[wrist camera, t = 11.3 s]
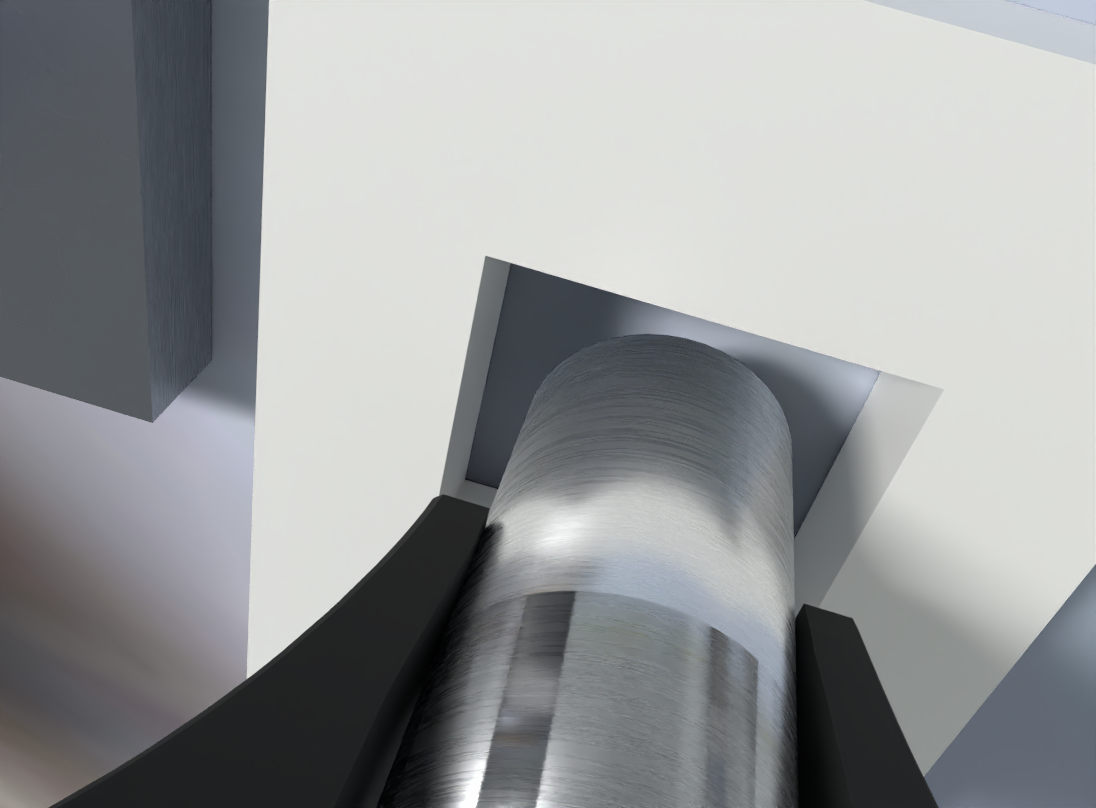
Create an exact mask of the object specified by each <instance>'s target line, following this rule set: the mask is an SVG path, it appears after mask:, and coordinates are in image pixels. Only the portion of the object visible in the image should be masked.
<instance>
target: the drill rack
mask: <svg viewBox="0 0 1096 808" xmlns="http://www.w3.org/2000/svg"><path fill="white" fill-rule="evenodd" d="M511 263H513V264H516V265H520V266H523V267H527V268H530V269H533V270H537V271H540V272H544V273H547V274H551V275H554V276H557V277H561V278H564V279H568V280H571V281H575V282H578V283H581V284H585V285H588V286H592V287H595V288H599V289H602V290H605V291H609V292H612V293H616V294H619V295H623V296H626V297H629V298H633V299H636V300H640V301H643V302H646V303H650V304H653V305H657V306H660V307H664V308H667V309H670V310H674V311H677V312H681V313H684V314H688V315H691V316H694V317H698V318H701V319H705V320H708V321H712V322H715V323H718V324H722V325H725V326H729V327H732V328H736V329H739V330H742V331H746V332H749V333H753V334H756V335H760V336H763V337H766V338H770V339H773V340H777V341H780V342H783V343H787V344H790V345H794V346H797V347H801V348H804V349H807V350H811V351H814V352H818V353H821V354H825V355H828V356H831V357H835V358H838V359H842V360H845V361H849V362H852V363H855V364H859V365H862V366H866V367H869V368H873V369H876V370H879V371H881V373H880V375H879V377H878V379H877V381H876V383H875V385H874V387H873V389H872V391H871V393H870V394H869V396H868V398H867V400H866V402H865V404H864V406H863V408H862V410H861V412H860V414H859V416H858V418H857V420H856V421H855V423H854V425H853V427H852V429H851V431H850V433H849V435H848V437H847V439H846V441H845V443H844V445H843V446H842V448H841V450H840V452H839V454H838V456H837V458H836V460H835V462H834V464H833V466H832V468H831V470H830V472H829V473H828V475H827V477H826V479H825V481H824V483H823V485H822V487H821V489H820V491H819V493H818V495H817V497H816V498H815V500H814V502H813V504H812V506H811V508H810V510H809V512H808V514H807V516H806V518H805V520H804V522H803V524H802V525H801V527H800V529H799V531H798V533H797V535H796V537H795V539H794V585H795V618H796V616H797V615H798V613H799V611H800V609H801V607H802V606H803V604H808V605H811V606H814V607H817V608H821V609H824V610H827V611H831V612H834V613H837V614H841V615H844V616H847V617H851V618H853V620H854V622H855V624H856V626H857V628H858V630H859V632H860V635H861V637H862V639H863V642H864V644H865V646H866V649H867V651H868V654H869V656H870V658H871V661H872V663H873V665H874V668H875V670H876V673H877V675H878V677H879V680H880V682H881V684H882V687H883V689H884V691H885V694H886V696H887V698H888V700H889V703H890V705H891V707H892V710H893V712H894V714H895V716H896V719H897V721H898V723H899V725H900V728H901V730H902V732H903V734H904V736H905V739H906V741H907V743H908V745H909V747H910V750H911V752H912V754H913V756H914V758H915V760H916V762H917V764H918V766H919V768H920V770H921V772H922V775H923V777H924V776H925V775H926V774H927V772H928V771H929V770H930V769H931V767H932V766H933V765H934V764H935V762H936V761H937V760H938V759H939V757H940V756H941V755H942V754H943V752H944V751H945V750H946V749H947V748H948V746H949V745H950V744H951V743H952V741H953V740H954V739H955V738H956V736H957V735H958V734H959V733H960V731H961V730H962V729H963V728H964V726H965V725H966V724H967V723H968V721H969V720H970V719H971V718H972V717H973V715H974V714H975V713H976V712H977V710H978V709H979V708H980V707H981V705H982V704H983V703H984V702H985V700H986V699H987V698H988V697H989V695H990V694H991V693H992V692H993V691H994V689H995V688H996V687H997V686H998V684H999V683H1000V682H1001V681H1002V679H1003V678H1004V677H1005V676H1006V674H1007V673H1008V672H1009V671H1010V669H1011V668H1012V667H1013V666H1014V664H1015V663H1016V662H1017V661H1018V660H1019V658H1020V657H1021V656H1022V655H1023V653H1024V652H1025V651H1026V650H1027V648H1028V647H1029V646H1030V645H1031V643H1032V642H1033V641H1034V640H1035V638H1036V637H1037V636H1038V635H1039V634H1040V632H1041V631H1042V630H1043V629H1044V627H1045V626H1046V625H1047V624H1048V622H1049V621H1050V620H1051V619H1052V617H1053V616H1054V615H1055V614H1056V612H1057V611H1058V610H1059V609H1060V607H1061V606H1062V605H1063V604H1064V603H1065V601H1066V600H1067V599H1068V598H1069V596H1070V595H1071V594H1072V593H1073V591H1074V590H1075V589H1076V588H1077V586H1078V585H1079V584H1080V583H1081V581H1082V580H1083V579H1084V578H1085V577H1086V575H1087V574H1088V573H1089V572H1090V570H1091V569H1092V568H1093V567H1094V565H1095V564H1096V25H1093V24H1089V23H1085V22H1082V21H1078V20H1074V19H1071V18H1067V17H1064V16H1060V15H1056V14H1053V13H1049V12H1045V11H1042V10H1038V9H1034V8H1031V7H1027V6H1023V5H1020V4H1016V3H1013V2H1009V1H1005V0H269V18H268V48H267V79H266V109H265V140H264V170H263V201H262V231H261V262H260V292H259V322H258V353H257V383H256V414H255V444H254V475H253V505H252V536H251V566H250V597H249V627H248V658H247V679H248V678H249V677H250V676H252V675H253V674H254V673H256V672H257V671H258V670H259V669H261V668H262V667H263V666H264V665H266V664H267V663H268V662H269V661H271V660H272V659H273V658H274V657H276V656H277V655H278V654H279V653H281V652H282V651H283V650H284V649H285V648H286V647H288V646H289V645H290V644H291V643H292V642H293V641H294V640H296V639H297V638H298V637H299V636H300V635H301V634H303V633H304V632H305V631H306V630H307V629H308V628H309V627H311V626H312V625H313V624H314V623H315V622H316V621H318V620H319V619H320V618H321V617H322V616H323V615H324V614H326V613H327V612H328V611H329V610H330V609H331V608H332V607H333V606H334V605H335V604H337V603H338V602H339V601H340V600H341V599H342V598H343V597H344V596H345V595H346V594H347V593H348V592H349V591H350V590H351V589H352V588H353V587H354V586H355V585H356V584H357V583H358V582H359V581H360V580H361V579H362V578H363V577H364V576H365V575H366V574H367V573H368V572H369V571H370V570H371V569H372V568H374V567H375V566H376V564H377V563H378V562H379V561H380V560H381V559H382V558H383V557H384V556H385V555H386V554H387V553H388V552H389V551H390V550H391V549H392V547H393V546H394V545H395V544H396V543H397V542H398V541H399V540H400V539H401V538H402V536H403V535H404V534H405V533H406V532H407V531H408V530H409V528H410V527H411V526H412V525H413V524H414V522H415V521H416V520H417V519H418V517H419V516H420V515H421V514H422V513H423V511H424V510H425V509H426V507H427V506H428V504H429V503H430V502H431V500H432V499H433V498H435V497H437V496H440V495H442V494H444V495H448V496H451V497H454V498H458V499H461V500H464V501H467V502H471V503H474V504H477V505H481V506H484V507H487V508H490V509H491V506H492V503H493V501H494V498H495V496H496V493H497V490H498V489H495V488H491V487H488V486H485V485H482V484H478V483H475V482H472V481H468V480H465V477H466V472H467V467H468V463H469V458H470V453H471V449H472V444H473V439H474V434H475V430H476V425H477V420H478V416H479V411H480V406H481V402H482V397H483V392H484V387H485V383H486V378H487V373H488V369H489V364H490V359H491V355H492V350H493V345H494V340H495V336H496V331H497V326H498V322H499V317H500V312H501V308H502V303H503V298H504V293H505V289H506V284H507V279H508V275H509V270H510V265H511ZM489 511H490V510H489Z"/></svg>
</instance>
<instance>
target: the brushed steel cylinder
mask: <svg viewBox="0 0 1096 808" xmlns="http://www.w3.org/2000/svg"><path fill="white" fill-rule="evenodd" d="M376 808H799V804H798V749H797V695H796V640H795V585H794V531H793V476H792V440H791V435H790V430H789V425H788V423H787V420H786V417H785V415H784V412H783V410H782V408H781V406H780V405H779V403H778V401H777V399H776V398H775V396H774V395H773V393H772V392H771V391H770V390H769V388H768V387H767V386H766V384H765V383H764V382H763V381H762V380H761V379H760V378H759V377H758V376H757V375H756V374H755V373H753V372H752V371H751V370H750V369H749V368H747V367H746V366H745V365H743V364H742V363H741V362H739V361H738V360H736V359H734V358H733V357H731V356H729V355H727V354H726V353H724V352H722V351H720V350H718V349H715V348H713V347H711V346H708V345H706V344H703V343H700V342H697V341H693V340H690V339H686V338H681V337H675V336H669V335H657V334H639V335H627V336H621V337H615V338H611V339H607V340H604V341H601V342H597V343H594V344H592V345H590V346H588V347H585V348H583V349H581V350H579V351H577V352H576V353H574V354H572V355H571V356H569V357H568V358H566V359H565V360H564V361H562V362H561V363H560V364H559V365H558V366H556V367H555V368H554V369H553V370H552V371H551V372H550V373H549V375H548V376H547V377H546V378H545V379H544V380H543V382H542V383H541V385H540V386H539V388H538V390H537V391H536V393H535V395H534V398H533V400H532V402H531V404H530V407H529V410H528V412H527V415H526V417H525V420H524V423H523V425H522V428H521V430H520V433H519V436H518V438H517V441H516V443H515V446H514V449H513V451H512V454H511V456H510V459H509V462H508V464H507V467H506V470H505V472H504V475H503V477H502V480H501V483H500V485H499V488H498V490H497V493H496V496H495V498H494V501H493V503H492V506H491V509H490V511H489V515H488V519H487V523H486V527H485V530H484V533H483V535H482V538H481V540H480V543H479V546H478V548H477V551H476V554H475V556H474V559H473V561H472V564H471V567H470V569H469V572H468V575H467V577H466V580H465V582H464V585H463V587H462V590H461V592H460V594H459V596H458V599H457V601H456V603H455V605H454V608H453V610H452V613H451V615H450V617H449V620H448V622H447V625H446V627H445V630H444V632H443V635H442V637H441V640H440V642H439V644H438V647H437V650H436V652H435V655H434V657H433V660H432V663H431V665H430V668H429V670H428V673H427V676H426V678H425V681H424V683H423V686H422V689H421V691H420V694H419V696H418V699H417V702H416V704H415V707H414V710H413V712H412V715H411V717H410V720H409V723H408V725H407V728H406V730H405V733H404V736H403V738H402V741H401V743H400V746H399V749H398V751H397V754H396V756H395V759H394V762H393V764H392V767H391V770H390V772H389V775H388V777H387V780H386V783H385V785H384V788H383V790H382V793H381V796H380V798H379V801H378V803H377V806H376Z"/></svg>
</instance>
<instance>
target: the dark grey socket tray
mask: <svg viewBox="0 0 1096 808" xmlns="http://www.w3.org/2000/svg"><path fill="white" fill-rule="evenodd" d="M211 360H212V306H211V0H0V377H4V378H7V379H10V380H13V381H17V382H20V383H23V384H27V385H30V386H33V387H37V388H40V389H43V390H46V391H50V392H53V393H56V394H60V395H63V396H66V397H69V398H73V399H76V400H79V401H83V402H86V403H89V404H92V405H96V406H99V407H102V408H106V409H109V410H112V411H115V412H119V413H122V414H125V415H129V416H132V417H135V418H139V419H142V420H145V421H148V422H152V423H153V422H154V421H155V420H156V419H157V418H158V417H159V415H160V414H161V413H162V412H163V411H164V410H165V409H166V408H167V407H168V406H169V405H170V404H171V403H172V402H173V401H174V400H175V398H176V397H177V396H178V395H179V394H180V393H181V392H182V391H183V390H184V389H185V388H186V387H187V386H188V385H189V384H190V383H191V381H192V380H193V379H194V378H195V377H196V376H197V375H198V374H199V373H200V372H201V371H202V370H203V369H204V368H205V367H206V365H207V364H208V363H209V362H210V361H211Z"/></svg>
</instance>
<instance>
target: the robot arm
mask: <svg viewBox="0 0 1096 808" xmlns="http://www.w3.org/2000/svg"><path fill="white" fill-rule="evenodd" d="M489 510H490V508H487V507H484V506H481V505H477V504H474V503H471V502H467V501H464V500H461V499H458V498H454V497H451V496H448V495H444V494H442V495H440V496H437V497H435V498H433V499H432V500H431V502H430V503H429V504H428V506H427V507H426V509H425V510H424V511H423V513H422V514H421V515H420V516H419V517H418V519H417V520H416V521H415V522H414V524H413V525H412V526H411V527H410V528H409V530H408V531H407V532H406V533H405V534H404V535H403V536H402V538H401V539H400V540H399V541H398V542H397V543H396V544H395V545H394V546H393V547H392V549H391V550H390V551H389V552H388V553H387V554H386V555H385V556H384V557H383V558H382V559H381V560H380V561H379V562H378V563H377V564H376V566H375V567H374V568H372V569H371V570H370V571H369V572H368V573H367V574H366V575H365V576H364V577H363V578H362V579H361V580H360V581H359V582H358V583H357V584H356V585H355V586H354V587H353V588H352V589H351V590H350V591H349V592H348V593H347V594H346V595H345V596H344V597H343V598H342V599H341V600H340V601H339V602H338V603H337V604H335V605H334V606H333V607H332V608H331V609H330V610H329V611H328V612H327V613H326V614H324V615H323V616H322V617H321V618H320V619H319V620H318V621H316V622H315V623H314V624H313V625H312V626H311V627H309V628H308V629H307V630H306V631H305V632H304V633H303V634H301V635H300V636H299V637H298V638H297V639H296V640H294V641H293V642H292V643H291V644H290V645H289V646H288V647H286V648H285V649H284V650H283V651H282V652H281V653H279V654H278V655H277V656H276V657H274V658H273V659H272V660H271V661H269V662H268V663H267V664H266V665H264V666H263V667H262V668H261V669H259V670H258V671H257V672H256V673H254V674H253V675H252V676H250V677H249V678H248V679H246V680H245V681H244V682H243V683H241V684H240V685H239V686H237V687H236V688H235V689H233V690H232V691H230V692H229V693H228V694H226V695H225V696H224V697H222V698H221V699H220V700H218V701H217V702H216V703H214V704H213V705H211V706H210V707H209V708H207V709H206V710H204V711H203V712H202V713H200V714H199V715H197V716H196V717H194V718H193V719H191V720H190V721H188V722H187V723H185V724H184V725H182V726H181V727H179V728H178V729H176V730H175V731H173V732H172V733H171V734H169V735H168V736H166V737H165V738H163V739H162V740H160V741H159V742H157V743H156V744H154V745H153V746H151V747H150V748H148V749H146V750H145V751H143V752H142V753H140V754H139V755H137V756H136V757H134V758H132V759H131V760H129V761H128V762H126V763H124V764H123V765H121V766H120V767H118V768H116V769H115V770H113V771H111V772H109V773H108V774H106V775H104V776H103V777H101V778H99V779H97V780H96V781H94V782H92V783H90V784H89V785H87V786H85V787H84V788H82V789H80V790H78V791H77V792H75V793H73V794H71V795H70V796H68V797H66V798H65V799H63V800H61V801H59V802H58V803H56V804H54V805H52V806H51V807H49V808H376V806H377V803H378V801H379V798H380V796H381V793H382V790H383V788H384V785H385V783H386V780H387V777H388V775H389V772H390V770H391V767H392V764H393V762H394V759H395V756H396V754H397V751H398V749H399V746H400V743H401V741H402V738H403V736H404V733H405V730H406V728H407V725H408V723H409V720H410V717H411V715H412V712H413V710H414V707H415V704H416V702H417V699H418V696H419V694H420V691H421V689H422V686H423V683H424V681H425V678H426V676H427V673H428V670H429V668H430V665H431V663H432V660H433V657H434V655H435V652H436V650H437V647H438V644H439V642H440V640H441V637H442V635H443V632H444V630H445V627H446V625H447V622H448V620H449V617H450V615H451V613H452V610H453V608H454V605H455V603H456V601H457V599H458V596H459V594H460V592H461V590H462V587H463V585H464V582H465V580H466V577H467V575H468V572H469V569H470V567H471V564H472V561H473V559H474V556H475V554H476V551H477V548H478V546H479V543H480V540H481V538H482V535H483V533H484V530H485V527H486V523H487V519H488V515H489ZM795 640H796V695H797V749H798V804H799V808H938V806H937V804H936V802H935V800H934V797H933V795H932V793H931V791H930V789H929V787H928V785H927V783H926V781H925V779H924V777H923V775H922V772H921V770H920V768H919V766H918V764H917V762H916V760H915V758H914V756H913V754H912V752H911V750H910V747H909V745H908V743H907V741H906V739H905V736H904V734H903V732H902V730H901V728H900V725H899V723H898V721H897V719H896V716H895V714H894V712H893V710H892V707H891V705H890V703H889V700H888V698H887V696H886V694H885V691H884V689H883V687H882V684H881V682H880V680H879V677H878V675H877V673H876V670H875V668H874V665H873V663H872V661H871V658H870V656H869V654H868V651H867V649H866V646H865V644H864V642H863V639H862V637H861V635H860V632H859V630H858V628H857V626H856V624H855V622H854V620H853V618H851V617H847V616H844V615H841V614H837V613H834V612H831V611H827V610H824V609H821V608H817V607H814V606H811V605H808V604H803V606H802V607H801V609H800V611H799V613H798V615H797V616H796V618H795Z"/></svg>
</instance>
